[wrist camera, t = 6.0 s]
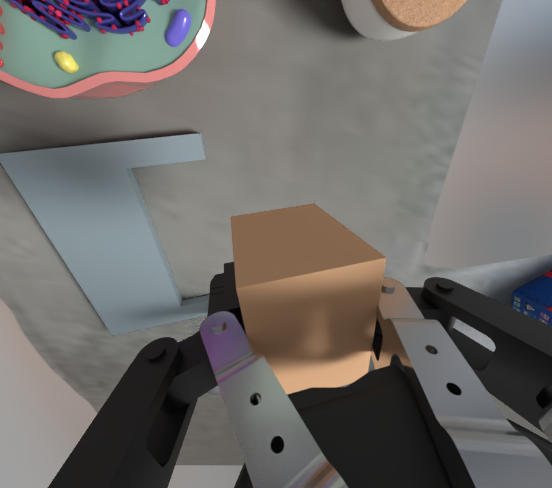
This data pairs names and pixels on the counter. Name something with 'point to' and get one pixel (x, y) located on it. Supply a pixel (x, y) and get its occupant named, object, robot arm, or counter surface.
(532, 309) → the blue cardboard box
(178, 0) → the cell model
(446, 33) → the counter surface
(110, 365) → the counter surface
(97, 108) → the counter surface
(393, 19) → the lidded jar
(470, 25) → the counter surface
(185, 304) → the screw clamp
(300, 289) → the tan wooden brick
